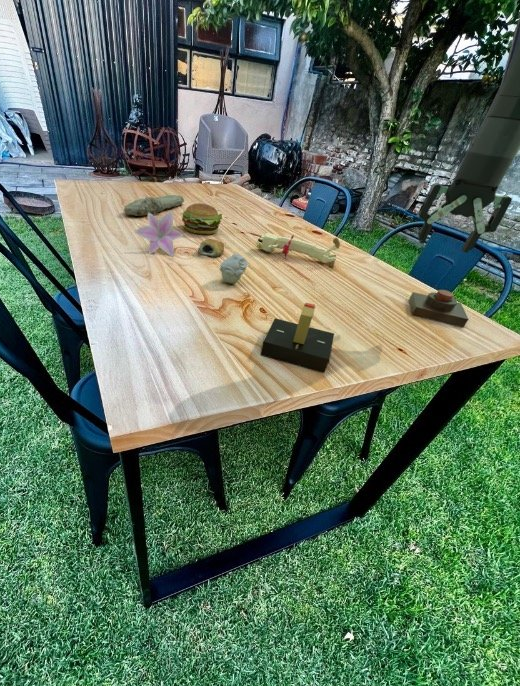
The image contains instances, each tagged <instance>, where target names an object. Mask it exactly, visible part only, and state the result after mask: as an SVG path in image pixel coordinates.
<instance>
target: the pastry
mask: <svg viewBox="0 0 520 686" xmlns="http://www.w3.org/2000/svg"><path fill="white" fill-rule="evenodd" d="M224 250H225V243H224V242H222V241H220V240H218V239H213V238H207V239H204V240H202V241H201V242H200V245H199V247H198V248H197V252H198V253H199V255H201V256H208V257H212V258H213V257H215V258H216V257H220V256H221V255H222V254H224Z"/></svg>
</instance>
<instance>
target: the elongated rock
mask: <svg viewBox="0 0 520 686" xmlns="http://www.w3.org/2000/svg"><path fill="white" fill-rule="evenodd" d="M183 203H185V198H184V196H183V195H177V194H172V195H171V194H167V195H164V196H163V195H162V196H157V197H153V196H145V198H140V199H137V200H134V201H133V202H130V203H128V204H126V205H124V207H123V212H124V214H126V215H129V216H130V215H131V216H135V217H139V216H148V213H151V214H152V215H154V216H155V215H156V214H158V212H163V211H164V210H165V209H171V208H175V207H179V206H180V205H183Z"/></svg>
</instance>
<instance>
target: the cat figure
mask: <svg viewBox="0 0 520 686" xmlns="http://www.w3.org/2000/svg"><path fill="white" fill-rule="evenodd" d="M294 237H295V234H292V235H291V237H287V236H279V235H277V234H274V233H271V232H266V233H265V235H261V236H259V238H258V239H257V241H256V242H255V245H256V247H257V248H258V249H262V250H263V251H265V252H267V253H272V252H274V251H275V249H279V250H282V251H281V253H282V254H283V255H284V258H285V259H286V258H287V255H288V254H289V252H296V253H299V254H303V255H306V256H308V257H309V258H313V259H316V260H317V261H319V262H321V263H325V264H326V263H329V267H330V268H334V265H335V263H336V260H337V255H338V254H337V253H332V252H333V251H337V250H338V249H340V246H341V242H340V239H339V237H335V236H334V237H333V240H332V244H334V245H333V246H331V247H329V248H327V249H326V248H323V247H320V246H317V244H314V243H310V242H307V241H303V240H300V239H297V238H294Z"/></svg>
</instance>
